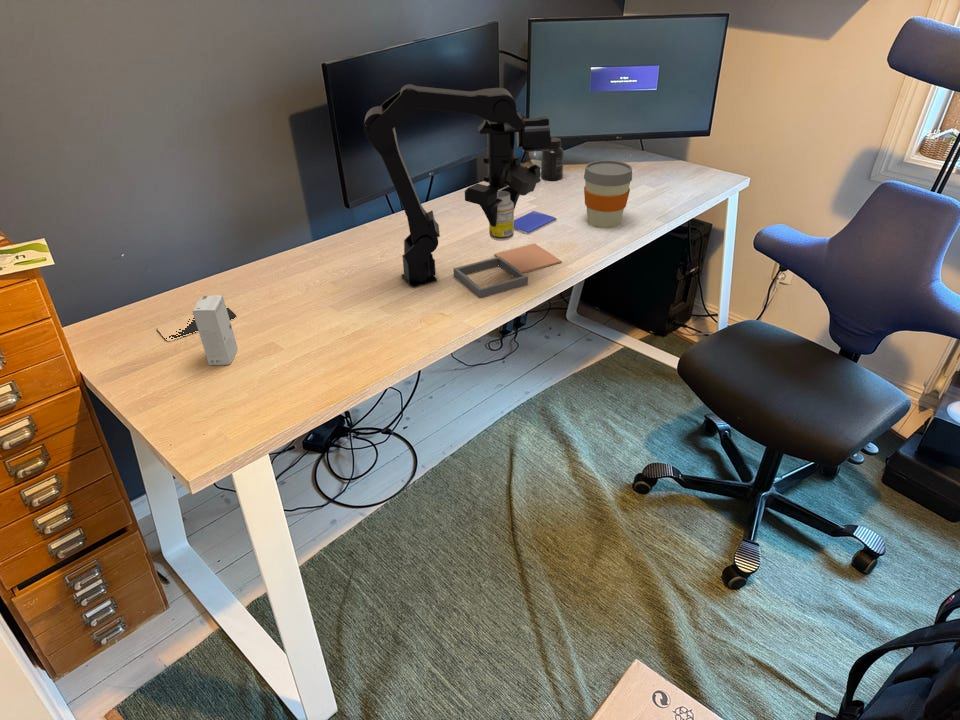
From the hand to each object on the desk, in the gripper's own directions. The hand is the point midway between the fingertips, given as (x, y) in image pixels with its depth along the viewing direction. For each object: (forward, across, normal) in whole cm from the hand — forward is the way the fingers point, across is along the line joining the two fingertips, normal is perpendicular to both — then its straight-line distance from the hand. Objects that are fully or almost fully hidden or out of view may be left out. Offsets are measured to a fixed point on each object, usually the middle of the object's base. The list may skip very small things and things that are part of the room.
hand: (501, 222), depth 152 cm
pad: (+13, +10, 0) cm, 17 cm away
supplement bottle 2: (+14, +63, +28) cm, 71 cm away
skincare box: (+13, -61, +22) cm, 66 cm away
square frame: (+13, -4, 0) cm, 14 cm away
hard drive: (+14, +29, +12) cm, 34 cm away
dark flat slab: (+13, -57, +38) cm, 70 cm away
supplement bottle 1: (+4, 0, 0) cm, 4 cm away
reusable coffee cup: (+14, +42, -3) cm, 44 cm away
